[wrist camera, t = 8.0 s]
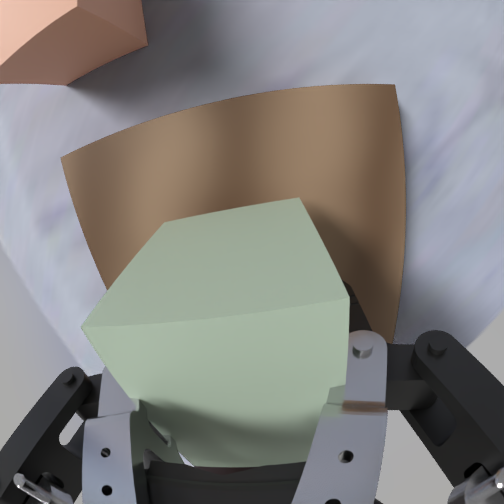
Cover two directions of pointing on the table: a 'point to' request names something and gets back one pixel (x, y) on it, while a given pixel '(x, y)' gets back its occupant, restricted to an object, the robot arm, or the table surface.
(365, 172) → the base board
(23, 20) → the brick
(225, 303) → the brick
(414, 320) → the table surface
